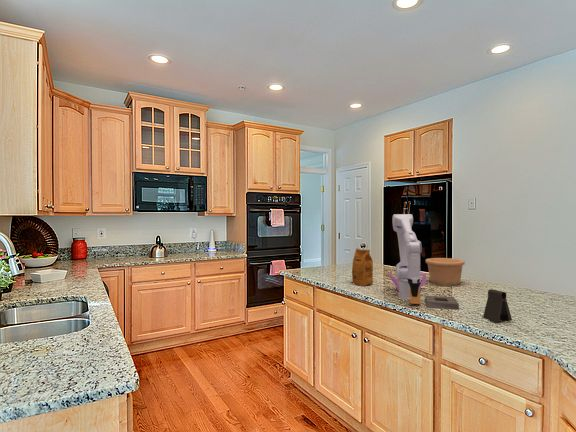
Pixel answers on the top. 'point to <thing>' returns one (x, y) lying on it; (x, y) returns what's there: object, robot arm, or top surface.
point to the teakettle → (419, 281)
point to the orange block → (415, 298)
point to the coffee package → (362, 268)
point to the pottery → (445, 271)
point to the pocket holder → (441, 302)
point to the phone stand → (497, 307)
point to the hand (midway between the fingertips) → (414, 295)
